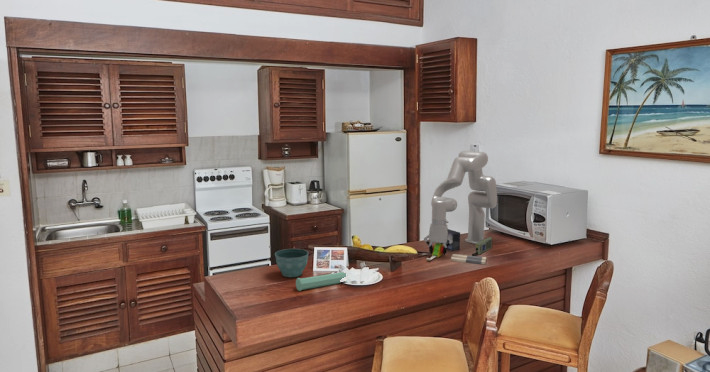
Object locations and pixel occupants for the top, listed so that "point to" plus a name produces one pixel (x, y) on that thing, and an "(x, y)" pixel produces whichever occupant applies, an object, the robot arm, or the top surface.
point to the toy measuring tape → (436, 251)
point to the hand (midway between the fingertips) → (437, 253)
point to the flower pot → (291, 261)
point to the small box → (456, 240)
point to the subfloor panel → (468, 259)
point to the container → (319, 281)
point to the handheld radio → (483, 246)
